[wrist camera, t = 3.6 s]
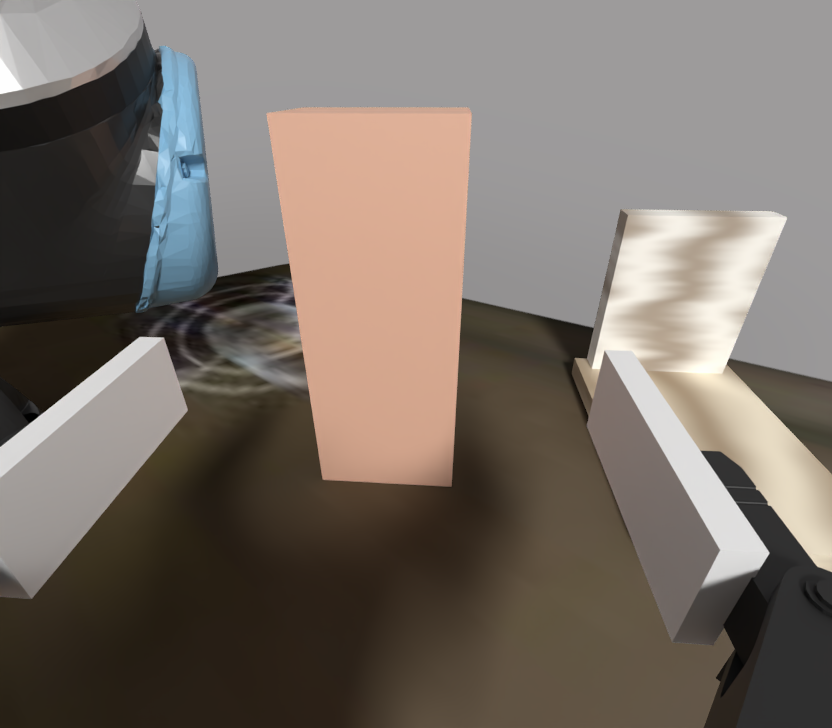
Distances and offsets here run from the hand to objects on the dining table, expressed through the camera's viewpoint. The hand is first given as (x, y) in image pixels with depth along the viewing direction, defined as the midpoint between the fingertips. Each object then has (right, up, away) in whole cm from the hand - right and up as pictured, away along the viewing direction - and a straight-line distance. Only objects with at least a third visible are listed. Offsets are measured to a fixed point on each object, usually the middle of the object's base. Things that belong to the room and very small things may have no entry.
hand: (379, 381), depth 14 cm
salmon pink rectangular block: (-1, -5, +16) cm, 17 cm away
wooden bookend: (+20, -5, +17) cm, 26 cm away
